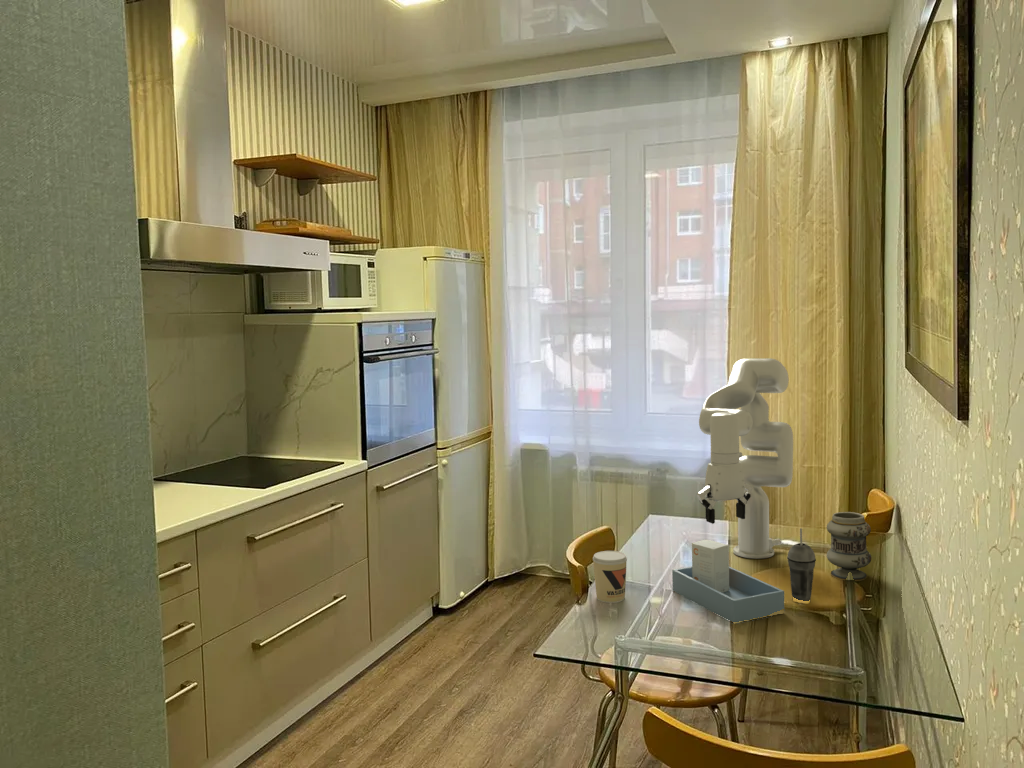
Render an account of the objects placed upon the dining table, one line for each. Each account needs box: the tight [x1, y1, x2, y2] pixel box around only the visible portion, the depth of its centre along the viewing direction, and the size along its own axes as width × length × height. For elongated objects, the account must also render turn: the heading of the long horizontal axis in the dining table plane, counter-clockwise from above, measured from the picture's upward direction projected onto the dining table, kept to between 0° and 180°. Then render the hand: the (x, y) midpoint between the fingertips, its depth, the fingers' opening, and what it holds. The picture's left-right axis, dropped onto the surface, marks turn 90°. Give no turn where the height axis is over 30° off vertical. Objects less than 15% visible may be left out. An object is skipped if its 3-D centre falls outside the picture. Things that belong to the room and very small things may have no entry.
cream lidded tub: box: [592, 550, 628, 604], centre depth 223 cm, size 9×9×12 cm
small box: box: [691, 539, 730, 593], centre depth 224 cm, size 8×6×13 cm
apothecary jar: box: [826, 511, 872, 582], centre depth 235 cm, size 12×12×18 cm
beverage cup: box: [786, 528, 817, 601], centre depth 216 cm, size 7×7×20 cm
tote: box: [671, 565, 785, 622], centre depth 218 cm, size 16×28×6 cm, turn 22°
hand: (725, 520), depth 221 cm, fingers open, 9 cm apart
